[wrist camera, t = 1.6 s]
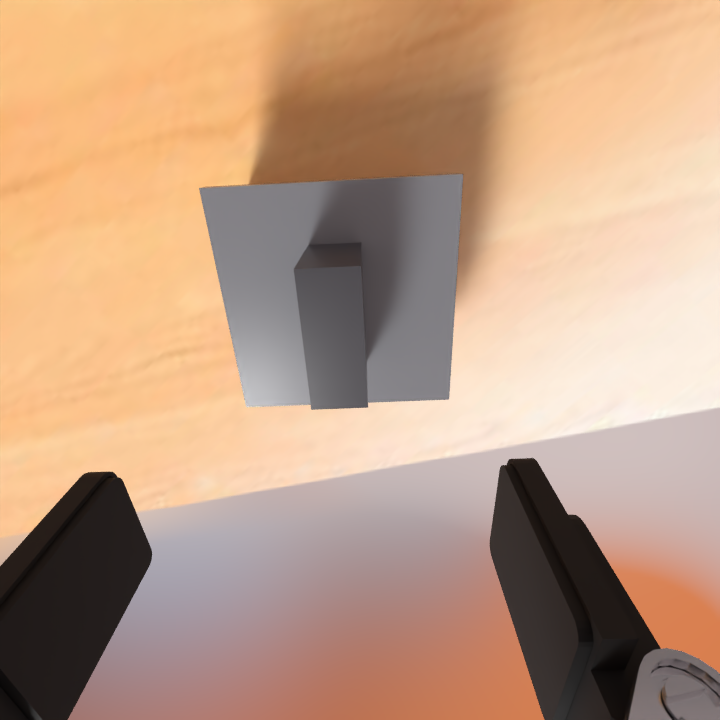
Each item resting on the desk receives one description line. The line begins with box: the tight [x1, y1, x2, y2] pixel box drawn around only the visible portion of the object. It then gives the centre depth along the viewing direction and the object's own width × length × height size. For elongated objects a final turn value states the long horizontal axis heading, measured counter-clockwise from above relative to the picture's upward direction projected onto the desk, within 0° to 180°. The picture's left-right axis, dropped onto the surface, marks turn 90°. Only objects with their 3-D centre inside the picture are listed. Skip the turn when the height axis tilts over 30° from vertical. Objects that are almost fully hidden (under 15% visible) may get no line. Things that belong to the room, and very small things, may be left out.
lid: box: [199, 173, 463, 410], centre depth 21 cm, size 13×13×6 cm
